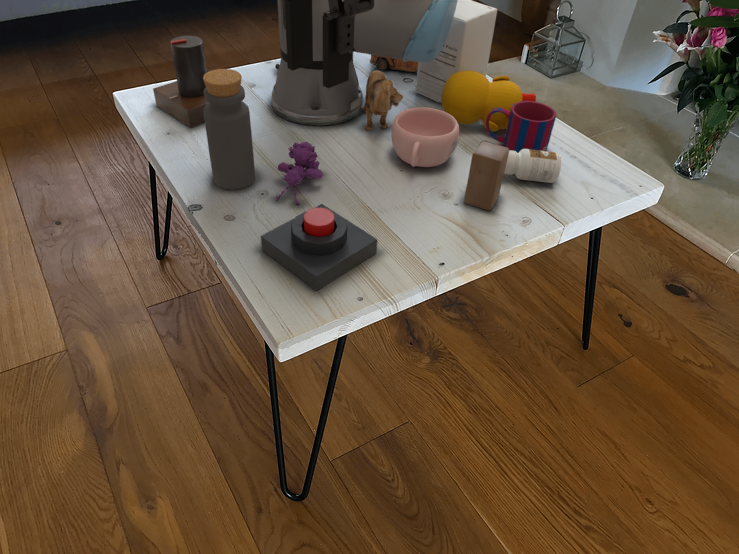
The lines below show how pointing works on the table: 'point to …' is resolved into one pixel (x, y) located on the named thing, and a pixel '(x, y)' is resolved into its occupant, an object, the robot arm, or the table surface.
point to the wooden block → (486, 175)
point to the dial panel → (180, 104)
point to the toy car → (393, 64)
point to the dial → (189, 65)
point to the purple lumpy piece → (300, 166)
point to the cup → (526, 126)
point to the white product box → (459, 48)
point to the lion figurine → (379, 98)
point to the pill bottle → (534, 165)
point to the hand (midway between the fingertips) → (317, 73)
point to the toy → (480, 98)
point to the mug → (424, 136)
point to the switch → (319, 222)
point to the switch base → (319, 249)
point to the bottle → (228, 130)
